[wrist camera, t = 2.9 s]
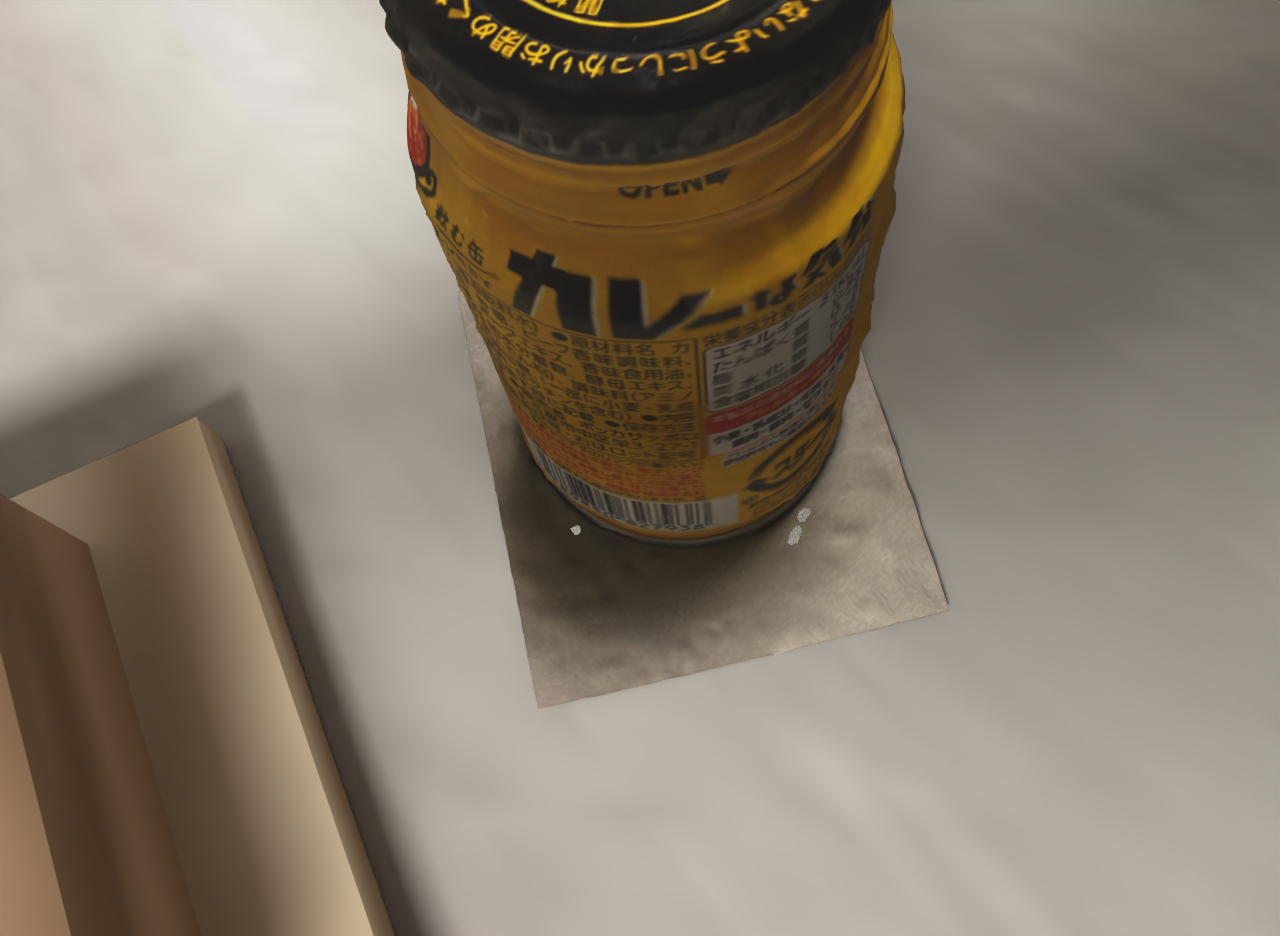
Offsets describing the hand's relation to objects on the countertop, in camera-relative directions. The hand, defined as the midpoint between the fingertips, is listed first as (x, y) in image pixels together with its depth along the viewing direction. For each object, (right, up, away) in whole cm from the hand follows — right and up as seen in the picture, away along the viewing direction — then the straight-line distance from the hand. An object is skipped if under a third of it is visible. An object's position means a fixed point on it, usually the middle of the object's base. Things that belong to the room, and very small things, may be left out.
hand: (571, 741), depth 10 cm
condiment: (+1, +3, +12) cm, 13 cm away
